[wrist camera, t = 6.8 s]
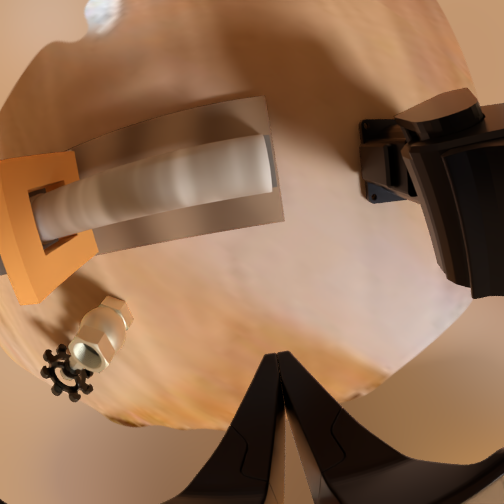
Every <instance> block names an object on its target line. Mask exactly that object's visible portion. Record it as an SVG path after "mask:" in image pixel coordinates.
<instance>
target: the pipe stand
mask: <svg viewBox="0 0 504 504" xmlns="http://www.w3.org/2000/svg"><path fill="white" fill-rule="evenodd" d="M67 151H74V152H75V158H76V163H77V169H78V174H79V179H80V180H78V181H75V182H72V183H70V184H67V185H64V186H62V187H59V188H57V189H54V190H52V191H50V192H47V193H46V189H45V188H43V189H39V190H36V191H33V192H30V193H28V195H29V199H30V204H31V208H32V212H33V216H34V219H35V223H36V227H37V230H38V234H39V237H40V240H41V243H42V247H43V250H44V249H46V248H47V247H49V246H51V245H52V244H54V243H56V242H57V241H59V239H58V238H61V237H64V236H68V235H72V234H75V233H79V232H83V231H86V230H90V229H92V231H93V234H94V238H95V241H96V244H97V247H98V251H99V252H98V253H97V254H96V255H100V254H105V253H110V252H115V251H120V250H125V249H130V248H135V247H140V246H146V245H151V244H156V243H161V242H167V241H172V240H177V239H183V238H188V237H194V236H199V235H205V234H211V233H216V232H222V231H228V230H234V229H240V228H246V227H252V226H258V225H264V224H270V223H276V222H283V221H285V220H284V213H283V205H282V198H281V191H280V185H279V178H278V171H277V165H276V158H275V152H274V146H273V140H272V134H271V128H270V122H269V116H268V111H267V105H266V100H265V95H264V96H257V97H250V98H243V99H237V100H231V101H225V102H220V103H215V104H210V105H205V106H200V107H196V108H191V109H187V110H183V111H179V112H175V113H171V114H167V115H164V116H160V117H157V118H153V119H150V120H146V121H143V122H140V123H137V124H134V125H131V126H128V127H125V128H122V129H119V130H116V131H113V132H110V133H108V134H105V135H102V136H100V137H97V138H95V139H92V140H90V141H87V142H85V143H82V144H80V145H78V146H75V147H73V148H71V149H68V150H66V151H64V152H67ZM96 255H94V256H96ZM4 274H7V272H6V269H5V266H4V264H3V261H2V258H1V255H0V275H4Z"/></svg>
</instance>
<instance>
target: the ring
mask: <svg viewBox="0 0 504 504" xmlns="http://www.w3.org/2000/svg"><path fill="white" fill-rule="evenodd" d="M78 180H80V179H79V174H78V169H77V163H76V158H75V152H74V151H67V152H56V153H47V154H38V155H30V156H23V157H17V158H10V159H4V160H0V255H1V258H2V261H3V264H4V266H5V269H6V272H7V275H8V277H9V280H10V282H11V285H12V287H13V290H14V292H15V294H16V297H17V299H18V301H19V303H20V305H29V304H38V303H40V302H42V301H43V300H44V299H45V298H46V297H47V296H48V295H49V294H50V293H51V292H52V291H53V290H55V289H56V288H57V287H58V286H59V285H60V284H61V283H62V282H64V281H65V280H66V279H67V278H68V277H69V276H70V275H72V274H73V273H74V272H75V271H76V270H77V269H79V268H80V267H81V266H82V265H83V264H85V263H86V262H87V261H88V260H89V259H91V258H92V257H93V256H94V255H96V254H97V253H98V252H99V251H98V247H97V244H96V241H95V238H94V234H93V231H92V229H90V230H86V231H83V232H79V233H75V234H72V235H68V236H64V237H61V238H58V239H59V241H57V242H56V243H54V244H52V245H51V246H49V247H47V248H46V249H44V250H43V247H42V243H41V240H40V237H39V234H38V230H37V227H36V223H35V219H34V216H33V212H32V208H31V204H30V199H29V195H28V193H30V192H33V191H36V190H39V189H43V188H45V189H46V193H47V192H50V191H52V190H54V189H57V188H59V187H62V186H64V185H67V184H70V183H72V182H75V181H78Z"/></svg>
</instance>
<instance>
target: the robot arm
mask: <svg viewBox="0 0 504 504" xmlns="http://www.w3.org/2000/svg"><path fill="white" fill-rule="evenodd" d="M394 119H395V120H394ZM394 119H366V120H362V121H360V123H359V130H360V137H361V145H360V147H359V149H360V158H361V167H362V177H363V179H364V180H365V184H366V197H367V200H368V201H369V202H371V203H374V204H375V203H383V202H391V201H400V200H411V201H413V202H416V203H418V204H421V207H422V210H423V213H424V216H425V220H426V223H427V226H428V230H429V233H430V236H431V240H432V244H433V248H434V251H435V255H436V259H437V263H438V265H439V266H440V267H441V269H442V270H443V272H444V273H445V274H446V277H447V279H448V280H450V281H452V282H453V283H455V284H458V285H461V286H465V287H469V288H471V296H472V298H473V299H477V298H482V297H487V296H504V103H502V104H494V105H487V106H480V105H479V102H478V100H477V98H476V97H475V96H474V95H473V94H472V93H471V91H470V90H469V89H468V88H462V89H458V90H454V91H449V92H445V93H442V94H439V95H437V96H435V97H433V98H431V99H429V100H426V101H424V102H422V103H420V104H418V105H416V106H414V107H412V108H410V109H408V110H406V111H404V112H402V113H400V114H398V115H396V116H394ZM365 123H366V124H367V125H368V128H367V129H365V128H364V124H365ZM373 194H374V195H375V198H374V199H373V200H372V198H371V197H372V195H373ZM277 358H278V359H277ZM278 364H279V365H278ZM279 371H280V372H279ZM280 378H281V379H280ZM281 384H282V385H281ZM282 391H283V392H282ZM283 397H284V398H283ZM284 404H285V405H284ZM285 409H286V414H287V417H288V421H289V424H290V427H291V430H292V434H293V436H294V440H295V443H296V447H297V450H298V453H299V456H300V460H301V463H302V466H303V469H304V472H305V475H306V479H307V482H308V485H309V488H310V491H311V494H312V498H313V501H314V504H504V477H503V476H504V447H503V448H501V449H499V450H498V451H496V452H495V453H493V454H492V455H491V456H489V457H488V458H486V459H485V460H483V461H481V462H478V463H475V464H470V465H458V464H447V463H438V462H430V461H423V460H417V459H413V458H410V457H408V456H405V455H403V454H401V453H400V452H398V451H397V450H395V449H393V448H392V447H391V446H389V445H388V444H387V443H385V442H384V441H382V440H380V439H379V438H378V437H376V436H375V435H374V434H372V433H371V432H370V431H368V430H367V429H366V428H365V427H363V426H362V425H361V424H360V423H358V422H357V421H356V420H355V419H354V418H353V417H352V416H351V415H349V413H348V412H347V411H346V410H345V409H344V408H342V406H341V405H340V404H339V403H338V402H337V401H336V400H335V399H334V398H333V397H332V396H331V395H330V394H329V393H328V392H327V391H326V390H325V389H324V388H323V387H322V385H321V384H320V383H319V382H318V381H317V380H316V379H315V378H314V377H313V376H312V375H311V374H310V373H309V372H308V371H307V370H306V369H305V367H304V366H303V365H302V364H301V363H300V362H299V361H298V360H297V359H296V358H295V357H294V356H293V355H292V354H291V352H290V351H282V352H278V353H277V354H276V353H270V354H265V355H264V356H263V359H262V361H261V363H260V365H259V367H258V369H257V371H256V373H255V375H254V378H253V380H252V382H251V384H250V386H249V388H248V390H247V392H246V394H245V396H244V398H243V400H242V402H241V404H240V406H239V408H238V410H237V412H236V414H235V416H234V418H233V420H232V422H231V424H230V425H231V426H229V427H228V429H227V431H226V433H225V435H224V437H223V439H222V440H221V442H220V444H219V446H218V447H217V449H216V450H215V451H214V453H213V454H212V456H211V457H210V458H209V460H208V461H207V462H206V464H205V465H204V466H203V467H202V469H201V470H200V471H199V473H198V474H197V475H196V476H195V478H194V479H193V480H192V482H190V484H189V485H188V486H187V487H186V488H185V489H184V490H183V491H182V492H181V493H180V494H178V495H177V496H175V497H173V498H172V499H170V500H167V501H165V502H163V503H161V504H284V488H285ZM0 504H7V503H5V502H4V501H2V500H1V499H0Z"/></svg>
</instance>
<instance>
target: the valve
mask: <svg viewBox="0 0 504 504" xmlns="http://www.w3.org/2000/svg"><path fill="white" fill-rule="evenodd" d="M133 320H134V318H133V316H132V314H131V312H130V310H129V307H128V305H127V303H126V302H125V301H123V300H120V299H117V298H114V297H111V296H108V295H107V297H106V298H105V299H104V300H103V301H102V303H101V304H100V305H99V306H98V308H94V309H92V310H90V311H89V312H88V313H87V314H86V315H85V316H84V317H83V319H82V321H81V323H80V327H79V332H78V333H77V335H76V336H75V337H74V339H73V340H72V341H71V343H70V344H69V345H68V349H69V351H70V353H71V356H70V355H68V354H66V350H67V348H66V346H65V345H63V344H60V345H59V346H58V348H57V349H56V352H57V355H56V356H53V355H52V354H51V352H52V351H51V350H49V349H48V350H46V351H45V353H44V354H43V358H44V360H45V361H46V362H48V363H49V368H46V366H43V368H42V369H41V372H40V373H41V376H42V377H43V378H46V379H47V378H51V379H52V381H53V382H54V385H53V387H52V388H51V390H52V393H53V394H54V395H56V396H59V395H60V394H61V393H62V391H65V392H68V394H69V398H70V400H71V401H72V402H77V401H78V400H79V399H80V398H81V395H80V394H79V395H78V393H77V392H78V391H79V390H82V392H83V393H84V394H87V395H88V394H90V393H91V392H92V391H93V387H92V385H91V384H89V385H88V384H86V383H85V381H86V378H87V379H88V378H90V377H91V376H92V375H93V372H95V373H100V372H102V371H103V370H104V369H105V368H106V367H107V366H108V365H109V364H110V362H111V360H112V358H113V356H114V355H115V354H116V353H117V352H118V351H119V350H120V349H121V348H122V346H123V345H124V342H125V339H126V331H127V330H128V329H129V327H130V325H131V323H132V322H133ZM59 360H65V361H64V362H60V361H59ZM57 367H58V368H61V370H60V373H61V375H62V377H63V379H65V380H69V381H71V380H72V379H75V382H76V385H75V386H67V385H65V384H63V383H62V382H61V381H60V380H59V379H58V378H57V376H56V374H55V368H57ZM83 368H85V369H83ZM79 376H80V377H79Z"/></svg>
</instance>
